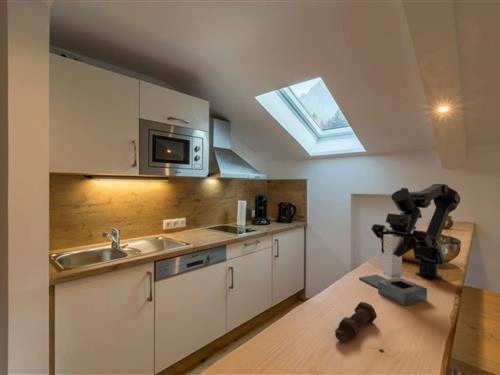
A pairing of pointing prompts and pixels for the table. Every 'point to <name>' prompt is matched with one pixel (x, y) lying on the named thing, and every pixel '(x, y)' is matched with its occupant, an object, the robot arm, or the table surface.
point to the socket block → (402, 291)
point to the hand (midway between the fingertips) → (389, 254)
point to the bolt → (355, 322)
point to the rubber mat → (372, 280)
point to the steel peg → (392, 255)
